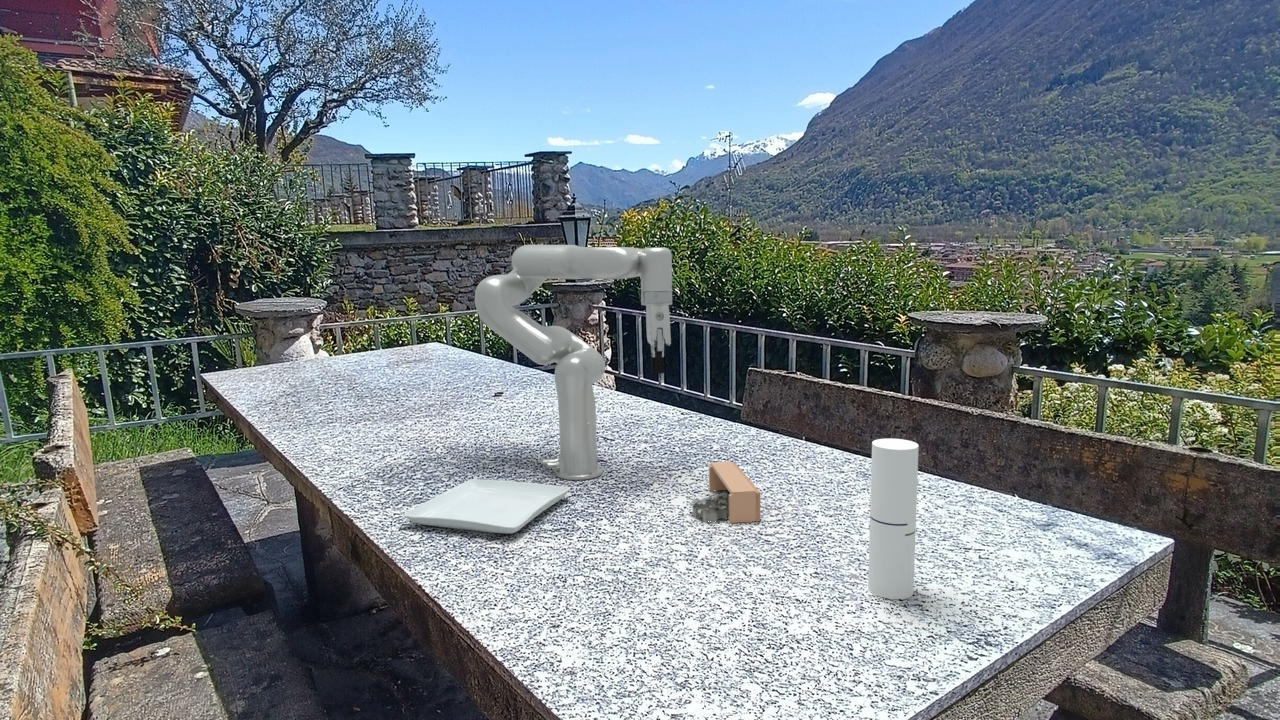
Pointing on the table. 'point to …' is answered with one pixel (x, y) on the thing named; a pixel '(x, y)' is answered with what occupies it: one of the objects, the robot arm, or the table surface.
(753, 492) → the shelf
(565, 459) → the robot arm
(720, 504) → the egg carton
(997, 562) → the table surface
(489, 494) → the square plate
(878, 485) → the cylindrical container
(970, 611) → the table surface
